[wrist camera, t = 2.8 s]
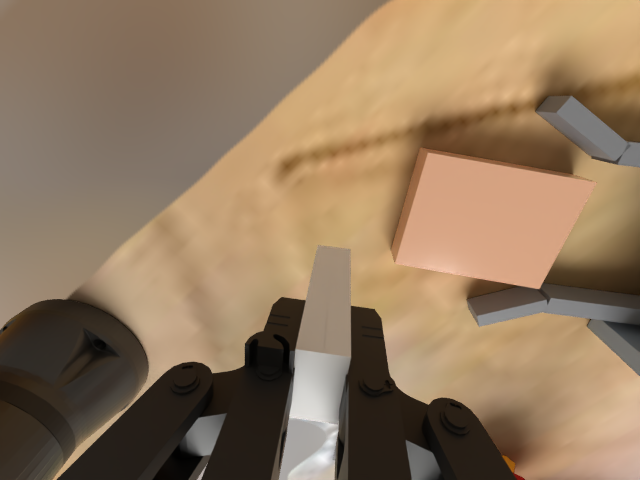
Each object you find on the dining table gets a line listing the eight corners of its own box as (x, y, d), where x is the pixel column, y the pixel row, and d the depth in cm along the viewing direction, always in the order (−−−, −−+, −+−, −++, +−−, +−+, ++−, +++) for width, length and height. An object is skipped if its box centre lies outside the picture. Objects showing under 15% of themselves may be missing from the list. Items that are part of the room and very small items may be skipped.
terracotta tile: (390, 247, 28) (394, 263, 26) (419, 146, 25) (428, 152, 22) (520, 270, 28) (539, 289, 26) (569, 173, 25) (596, 182, 22)
